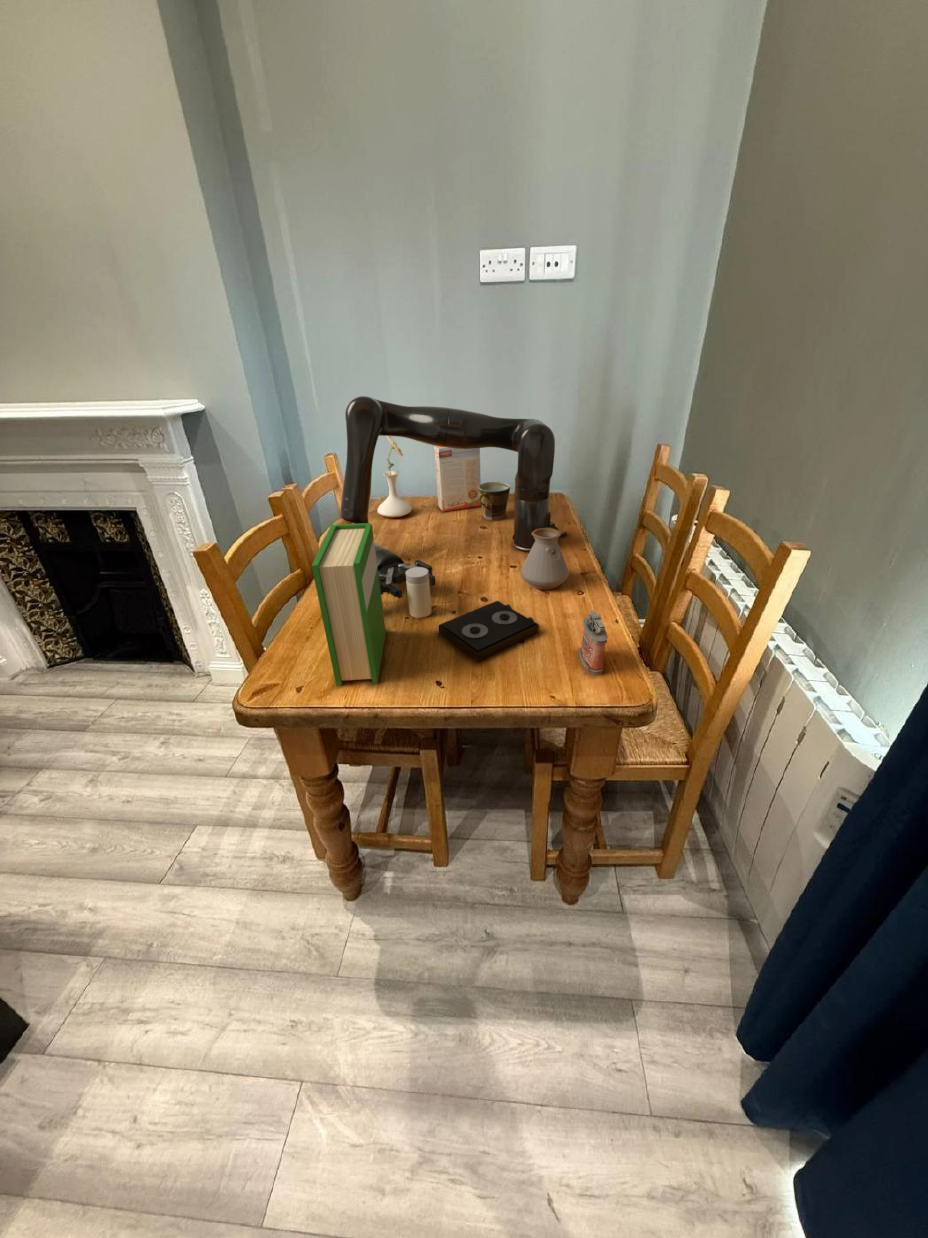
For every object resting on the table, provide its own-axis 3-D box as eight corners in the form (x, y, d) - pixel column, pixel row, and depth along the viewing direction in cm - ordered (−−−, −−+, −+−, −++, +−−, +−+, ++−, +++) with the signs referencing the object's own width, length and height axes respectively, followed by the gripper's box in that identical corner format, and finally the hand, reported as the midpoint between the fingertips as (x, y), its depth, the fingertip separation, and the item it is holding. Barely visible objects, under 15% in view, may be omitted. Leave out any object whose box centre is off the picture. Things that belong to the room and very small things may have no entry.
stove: (500, 607, 113) (500, 596, 112) (541, 631, 104) (542, 619, 103) (438, 634, 105) (437, 622, 103) (477, 662, 96) (477, 650, 94)
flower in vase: (410, 520, 163) (403, 439, 150) (375, 520, 163) (365, 440, 150) (414, 506, 174) (407, 430, 161) (381, 507, 174) (372, 431, 161)
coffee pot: (519, 571, 128) (520, 515, 120) (564, 571, 127) (569, 514, 120) (523, 615, 110) (525, 552, 102) (576, 615, 109) (583, 551, 101)
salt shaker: (423, 604, 116) (420, 564, 110) (436, 612, 112) (433, 572, 107) (405, 611, 113) (400, 571, 108) (417, 620, 110) (413, 579, 104)
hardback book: (377, 683, 91) (359, 563, 79) (336, 685, 91) (311, 565, 78) (385, 631, 106) (371, 522, 94) (350, 632, 106) (331, 524, 94)
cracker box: (475, 501, 177) (474, 439, 166) (481, 506, 172) (480, 443, 161) (437, 506, 173) (433, 443, 162) (442, 512, 168) (438, 447, 157)
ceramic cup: (489, 509, 169) (489, 480, 164) (515, 515, 164) (516, 484, 158) (467, 521, 160) (466, 490, 155) (493, 527, 155) (493, 495, 150)
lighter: (576, 650, 98) (580, 606, 93) (593, 649, 98) (598, 604, 93) (588, 675, 91) (594, 629, 86) (606, 674, 91) (613, 627, 86)
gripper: (352, 557, 115) (387, 582, 104) (405, 541, 122) (443, 563, 111) (356, 586, 119) (391, 613, 108) (408, 569, 126) (445, 593, 115)
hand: (417, 588), depth 110 cm, fingers open, 8 cm apart
